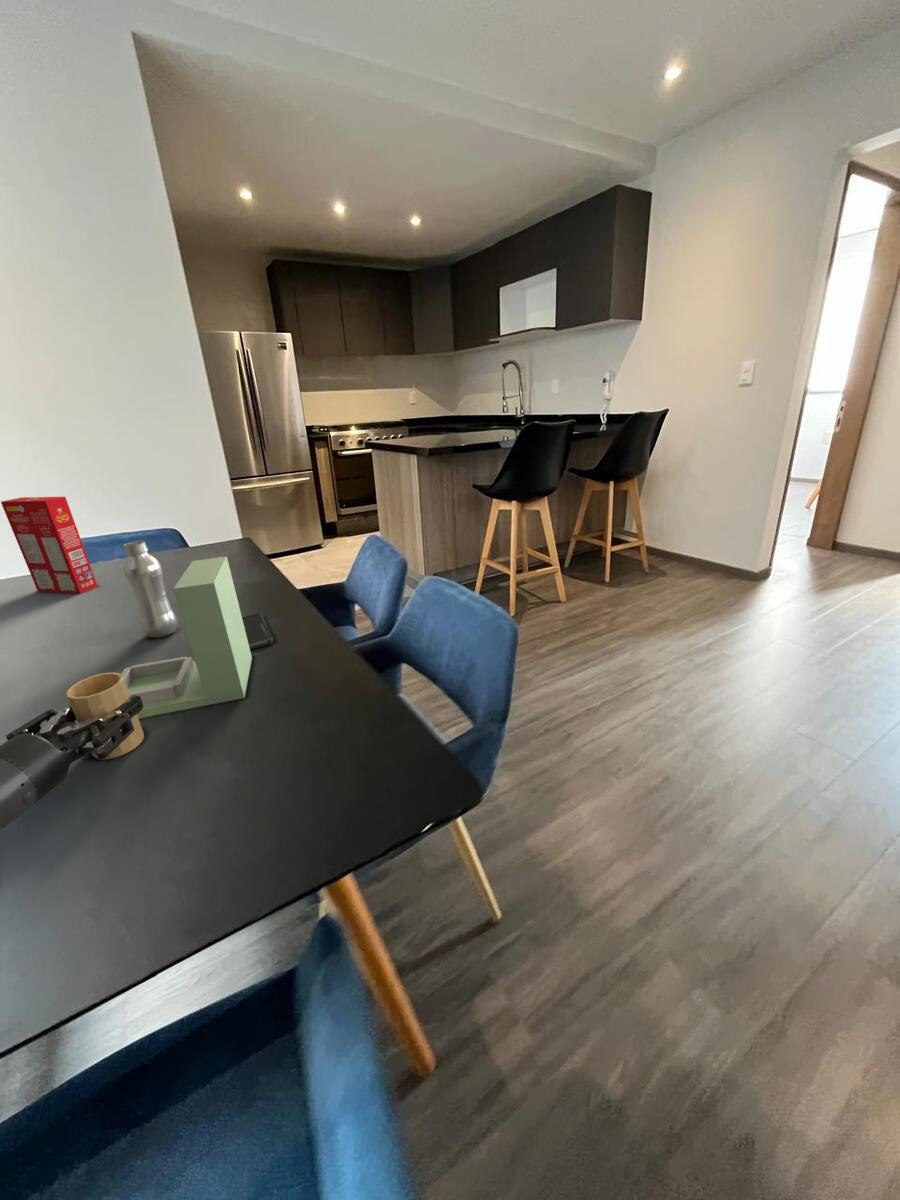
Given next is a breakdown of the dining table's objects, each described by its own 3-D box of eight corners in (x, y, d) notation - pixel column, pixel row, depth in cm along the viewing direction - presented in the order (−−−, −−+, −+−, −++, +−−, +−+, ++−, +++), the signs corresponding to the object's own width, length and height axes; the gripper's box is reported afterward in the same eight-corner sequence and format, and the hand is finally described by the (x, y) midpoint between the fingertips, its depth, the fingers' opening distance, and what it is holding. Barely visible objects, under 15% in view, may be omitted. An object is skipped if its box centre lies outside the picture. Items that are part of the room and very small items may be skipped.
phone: (231, 649, 93) (223, 621, 105) (232, 654, 94) (224, 626, 106) (273, 638, 96) (261, 612, 109) (275, 643, 97) (262, 617, 109)
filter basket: (84, 764, 67) (57, 702, 63) (101, 735, 72) (78, 677, 69) (136, 753, 68) (113, 692, 64) (149, 726, 74) (128, 668, 70)
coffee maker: (102, 726, 75) (53, 605, 67) (130, 679, 87) (92, 574, 79) (244, 698, 79) (214, 582, 72) (252, 658, 92) (226, 556, 84)
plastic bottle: (139, 637, 104) (108, 546, 96) (171, 624, 109) (144, 537, 101) (154, 644, 100) (123, 550, 92) (186, 631, 105) (159, 540, 97)
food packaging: (97, 586, 136) (65, 496, 127) (80, 593, 132) (45, 500, 122) (56, 585, 140) (21, 497, 130) (38, 592, 135) (0, 501, 125)
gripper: (44, 762, 52) (154, 678, 67) (-65, 754, 55) (65, 675, 70) (70, 815, 55) (170, 723, 70) (-35, 805, 58) (83, 719, 73)
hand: (117, 699), depth 70 cm, fingers closed on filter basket, 6 cm apart
